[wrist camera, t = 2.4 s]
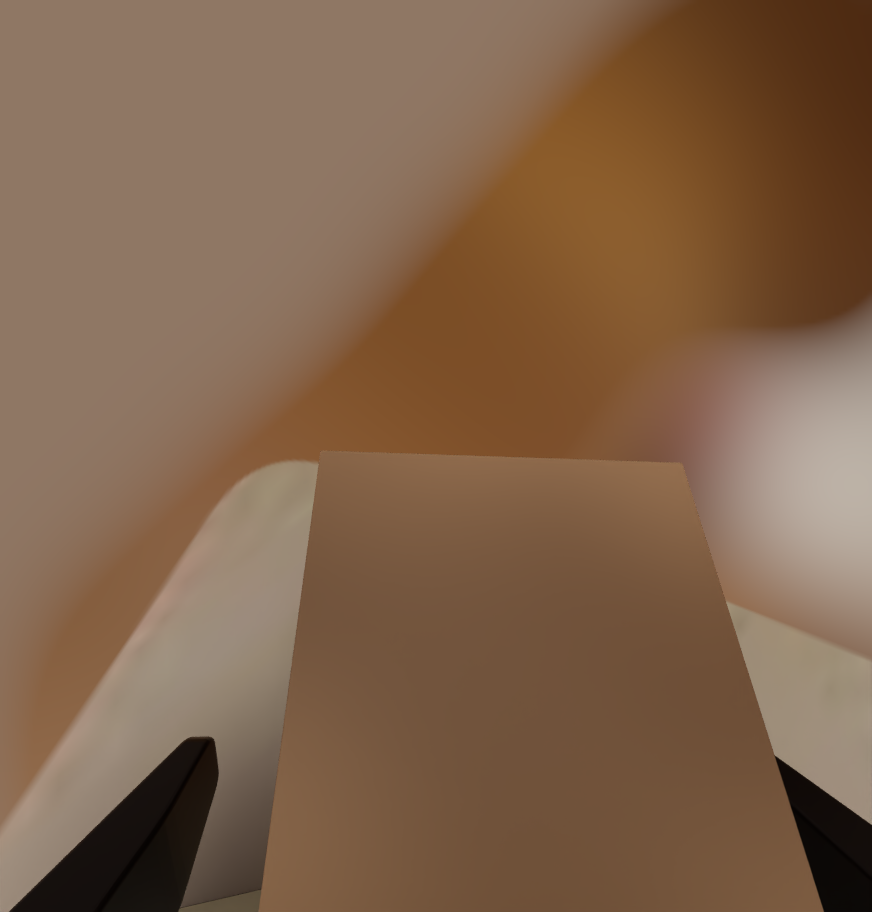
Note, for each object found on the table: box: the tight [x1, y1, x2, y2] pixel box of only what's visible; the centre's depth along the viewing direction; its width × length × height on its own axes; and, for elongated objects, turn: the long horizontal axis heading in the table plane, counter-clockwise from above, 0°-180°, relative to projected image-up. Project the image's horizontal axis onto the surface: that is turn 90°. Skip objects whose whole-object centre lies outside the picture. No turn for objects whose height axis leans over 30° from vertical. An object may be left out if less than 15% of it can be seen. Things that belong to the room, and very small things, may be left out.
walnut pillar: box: [258, 451, 824, 912], centre depth 10 cm, size 5×5×13 cm
